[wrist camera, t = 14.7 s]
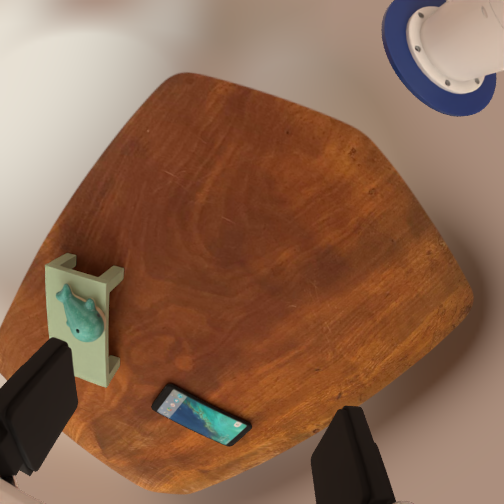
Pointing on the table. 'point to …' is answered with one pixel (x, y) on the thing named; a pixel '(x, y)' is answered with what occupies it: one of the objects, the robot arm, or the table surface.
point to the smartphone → (200, 416)
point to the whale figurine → (82, 315)
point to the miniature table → (83, 285)
